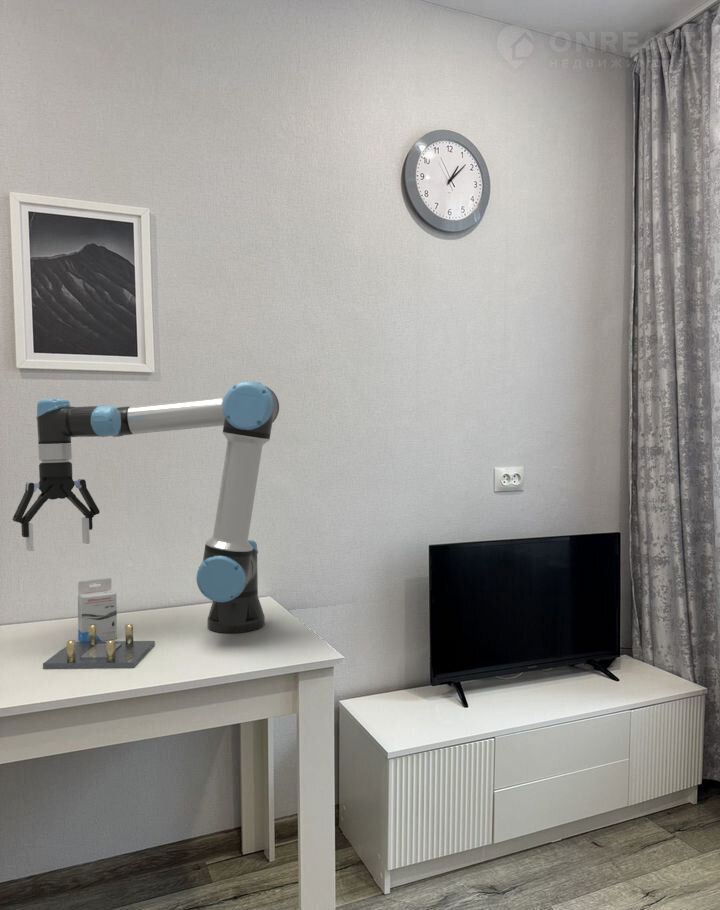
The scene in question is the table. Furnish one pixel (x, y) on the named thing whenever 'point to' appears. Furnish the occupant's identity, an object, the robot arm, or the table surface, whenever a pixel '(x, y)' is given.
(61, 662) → the plate
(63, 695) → the table surface
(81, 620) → the ink box
